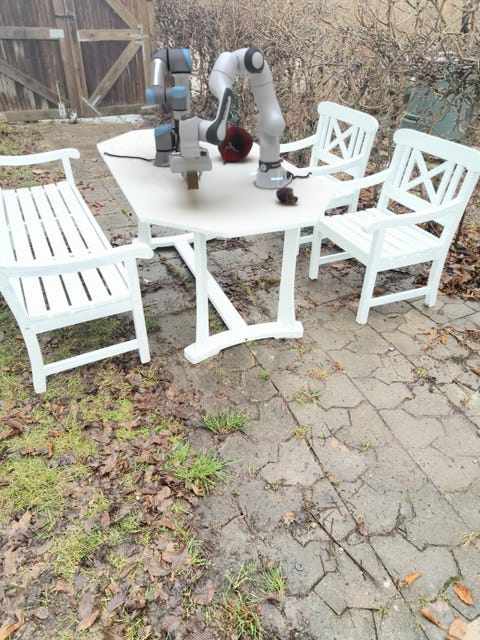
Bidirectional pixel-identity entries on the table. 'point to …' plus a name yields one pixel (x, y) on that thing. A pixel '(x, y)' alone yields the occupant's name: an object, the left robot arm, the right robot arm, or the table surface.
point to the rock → (286, 195)
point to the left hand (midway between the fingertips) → (184, 162)
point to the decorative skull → (235, 144)
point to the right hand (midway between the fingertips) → (192, 180)
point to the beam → (191, 178)
